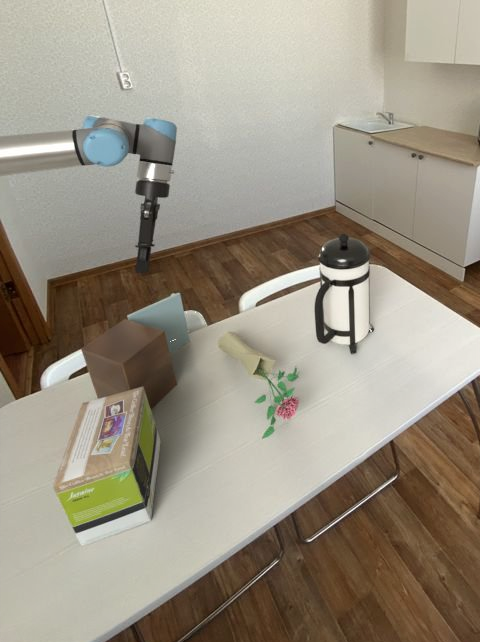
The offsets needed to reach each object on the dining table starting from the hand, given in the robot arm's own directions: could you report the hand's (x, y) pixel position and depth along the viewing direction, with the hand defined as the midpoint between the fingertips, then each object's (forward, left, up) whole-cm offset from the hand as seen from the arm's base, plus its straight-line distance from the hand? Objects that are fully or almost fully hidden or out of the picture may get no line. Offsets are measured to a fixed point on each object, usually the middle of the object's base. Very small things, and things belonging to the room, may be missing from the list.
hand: (141, 272), depth 97 cm
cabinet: (+11, -17, -19) cm, 28 cm away
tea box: (+25, -34, -19) cm, 47 cm away
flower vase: (+37, -9, -19) cm, 43 cm away
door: (+7, -5, -19) cm, 21 cm away
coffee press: (+50, +12, -19) cm, 55 cm away
